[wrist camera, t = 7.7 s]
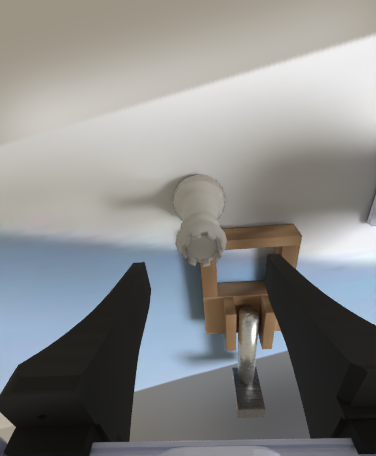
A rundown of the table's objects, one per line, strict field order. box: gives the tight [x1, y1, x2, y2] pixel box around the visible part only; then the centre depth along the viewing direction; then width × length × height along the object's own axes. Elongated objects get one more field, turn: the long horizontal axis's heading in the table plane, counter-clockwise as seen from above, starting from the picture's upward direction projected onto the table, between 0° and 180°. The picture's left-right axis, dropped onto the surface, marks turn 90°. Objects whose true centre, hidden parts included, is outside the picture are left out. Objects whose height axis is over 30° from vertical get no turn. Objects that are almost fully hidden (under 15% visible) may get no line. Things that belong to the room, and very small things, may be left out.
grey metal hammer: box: [232, 306, 265, 418], centre depth 27 cm, size 3×14×5 cm, turn 5°
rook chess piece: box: [173, 175, 227, 267], centre depth 18 cm, size 4×4×8 cm
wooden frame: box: [200, 224, 302, 351], centre depth 25 cm, size 9×13×4 cm
